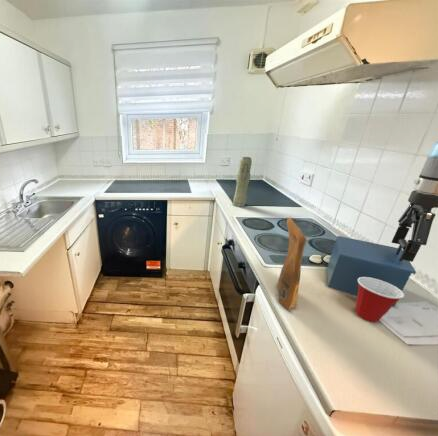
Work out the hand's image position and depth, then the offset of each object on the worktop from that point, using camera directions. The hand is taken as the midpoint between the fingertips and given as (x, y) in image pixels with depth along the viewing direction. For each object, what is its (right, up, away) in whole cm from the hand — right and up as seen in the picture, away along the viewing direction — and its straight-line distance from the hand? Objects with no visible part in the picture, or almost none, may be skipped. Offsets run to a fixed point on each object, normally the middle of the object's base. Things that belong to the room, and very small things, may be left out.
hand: (401, 251), depth 82 cm
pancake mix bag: (-38, -17, +5) cm, 42 cm away
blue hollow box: (-6, -14, +11) cm, 19 cm away
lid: (-6, -1, +5) cm, 8 cm away
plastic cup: (-16, -21, -4) cm, 26 cm away
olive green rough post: (-20, +21, +95) cm, 99 cm away
